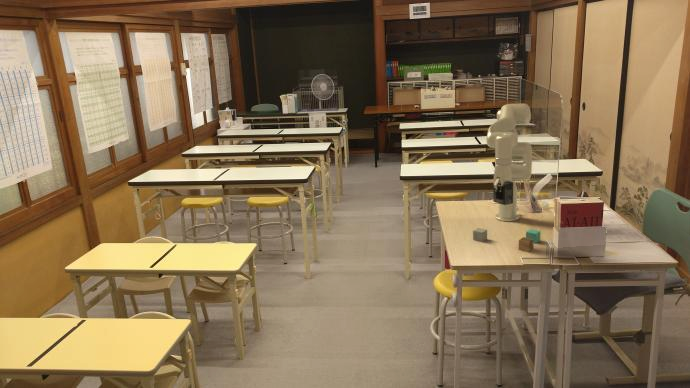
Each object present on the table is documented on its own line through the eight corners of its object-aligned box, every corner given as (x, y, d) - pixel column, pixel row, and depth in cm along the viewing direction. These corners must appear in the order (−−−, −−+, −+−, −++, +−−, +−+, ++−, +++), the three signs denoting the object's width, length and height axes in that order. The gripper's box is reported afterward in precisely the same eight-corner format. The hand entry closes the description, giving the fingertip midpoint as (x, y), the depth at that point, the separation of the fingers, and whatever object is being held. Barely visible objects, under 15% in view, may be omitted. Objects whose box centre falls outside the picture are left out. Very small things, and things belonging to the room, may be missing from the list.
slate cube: (478, 237, 269) (478, 227, 268) (487, 239, 266) (487, 229, 265) (473, 240, 266) (473, 230, 265) (482, 242, 263) (482, 232, 261)
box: (513, 203, 255) (513, 182, 252) (504, 205, 252) (504, 184, 249) (501, 199, 262) (502, 178, 259) (492, 201, 259) (493, 180, 256)
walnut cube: (523, 246, 253) (523, 237, 252) (533, 249, 250) (533, 239, 249) (518, 250, 250) (518, 240, 249) (528, 252, 246) (528, 242, 245)
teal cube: (530, 238, 263) (530, 229, 262) (540, 240, 260) (540, 230, 258) (525, 241, 259) (526, 231, 258) (535, 243, 256) (536, 233, 255)
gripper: (504, 156, 260) (504, 191, 265) (487, 164, 248) (487, 200, 253) (519, 158, 255) (518, 193, 260) (502, 165, 243) (501, 203, 248)
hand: (503, 196), depth 256 cm, fingers closed on box, 7 cm apart
